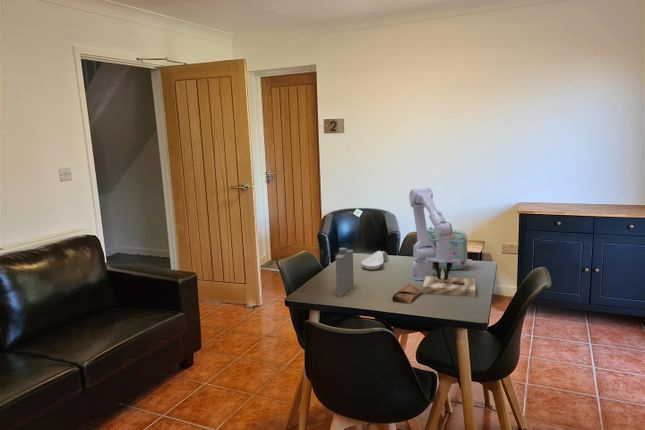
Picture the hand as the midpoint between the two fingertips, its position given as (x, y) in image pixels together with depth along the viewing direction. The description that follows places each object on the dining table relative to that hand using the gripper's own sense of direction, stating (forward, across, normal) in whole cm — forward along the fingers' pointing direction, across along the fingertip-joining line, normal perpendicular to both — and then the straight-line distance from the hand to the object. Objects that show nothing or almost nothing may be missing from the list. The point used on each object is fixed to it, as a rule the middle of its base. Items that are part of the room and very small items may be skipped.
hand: (442, 278), depth 205 cm
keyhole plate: (+5, +3, 0) cm, 6 cm away
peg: (+5, 0, 0) cm, 5 cm away
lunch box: (+5, -2, +36) cm, 37 cm away
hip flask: (+5, -43, -11) cm, 45 cm away
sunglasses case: (+6, -14, -14) cm, 20 cm away
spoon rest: (+5, -36, +34) cm, 50 cm away
